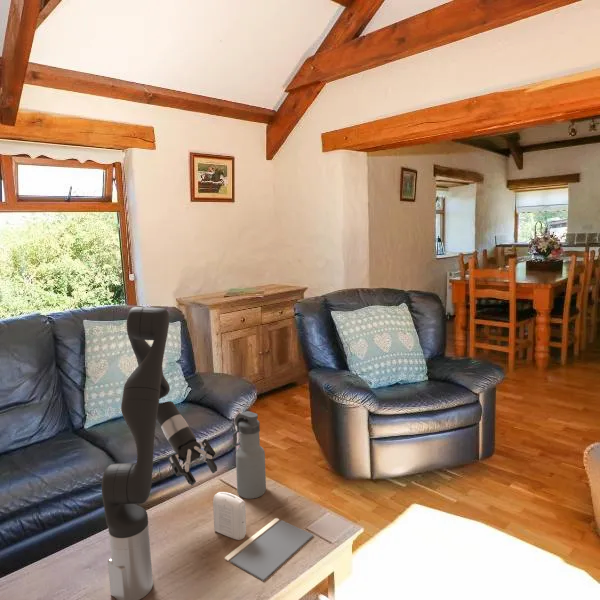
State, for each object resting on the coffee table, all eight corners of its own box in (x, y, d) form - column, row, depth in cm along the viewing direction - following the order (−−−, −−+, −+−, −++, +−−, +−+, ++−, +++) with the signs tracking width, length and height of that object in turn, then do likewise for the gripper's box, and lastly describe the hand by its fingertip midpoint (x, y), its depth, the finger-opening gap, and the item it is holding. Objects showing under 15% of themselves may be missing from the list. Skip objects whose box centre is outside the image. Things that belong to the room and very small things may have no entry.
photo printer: (248, 534, 141) (247, 495, 139) (240, 542, 138) (238, 502, 136) (221, 523, 146) (219, 486, 144) (212, 531, 143) (210, 493, 141)
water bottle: (230, 492, 163) (227, 414, 159) (251, 480, 171) (248, 405, 166) (251, 503, 157) (248, 422, 152) (271, 490, 164) (269, 412, 160)
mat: (263, 581, 122) (263, 579, 122) (224, 559, 131) (224, 557, 131) (313, 536, 140) (313, 534, 140) (275, 518, 148) (275, 517, 148)
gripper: (164, 435, 143) (192, 482, 138) (200, 419, 154) (227, 462, 149) (154, 447, 147) (181, 493, 142) (190, 430, 158) (216, 473, 153)
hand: (204, 477), depth 146 cm, fingers open, 8 cm apart
